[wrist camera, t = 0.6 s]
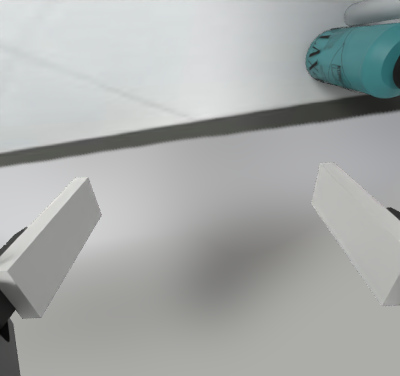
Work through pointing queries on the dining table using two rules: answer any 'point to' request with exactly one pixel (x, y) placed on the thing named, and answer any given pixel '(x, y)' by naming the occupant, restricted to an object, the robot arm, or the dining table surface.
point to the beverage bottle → (358, 59)
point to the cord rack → (372, 11)
